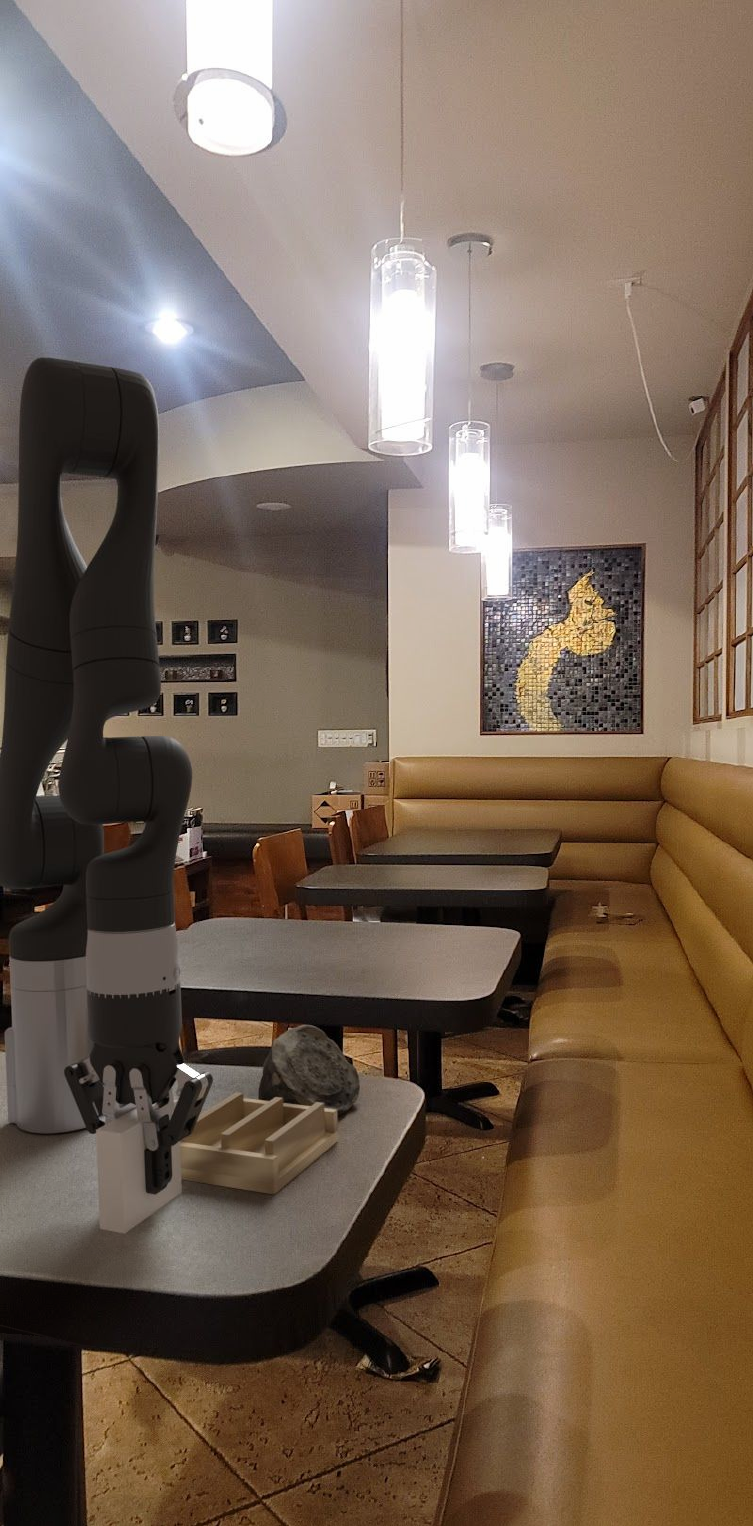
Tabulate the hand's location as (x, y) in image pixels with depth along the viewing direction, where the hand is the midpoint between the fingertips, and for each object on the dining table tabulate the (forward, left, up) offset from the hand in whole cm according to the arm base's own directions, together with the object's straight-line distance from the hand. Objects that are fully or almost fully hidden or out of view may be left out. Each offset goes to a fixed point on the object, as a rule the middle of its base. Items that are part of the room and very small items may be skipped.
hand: (141, 1186), depth 89 cm
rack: (+3, +13, -2) cm, 13 cm away
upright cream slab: (0, 0, -2) cm, 2 cm away
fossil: (+2, +26, -2) cm, 26 cm away
